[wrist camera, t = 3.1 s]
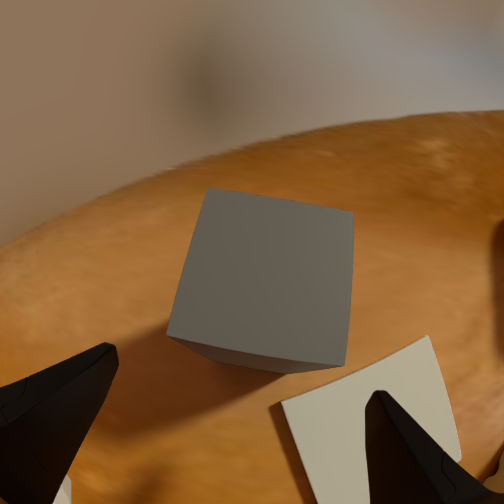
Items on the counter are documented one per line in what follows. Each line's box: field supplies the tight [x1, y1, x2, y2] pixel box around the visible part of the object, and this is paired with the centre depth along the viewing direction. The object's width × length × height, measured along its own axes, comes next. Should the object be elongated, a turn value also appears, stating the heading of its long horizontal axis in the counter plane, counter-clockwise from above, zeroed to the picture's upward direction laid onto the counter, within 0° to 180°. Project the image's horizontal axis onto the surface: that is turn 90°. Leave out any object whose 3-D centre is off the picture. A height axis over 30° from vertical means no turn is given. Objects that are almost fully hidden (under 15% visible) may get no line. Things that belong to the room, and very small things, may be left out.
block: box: [166, 188, 354, 374], centre depth 14 cm, size 5×5×12 cm
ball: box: [53, 474, 71, 504], centre depth 10 cm, size 8×8×8 cm
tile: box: [280, 335, 462, 504], centre depth 16 cm, size 12×12×1 cm
